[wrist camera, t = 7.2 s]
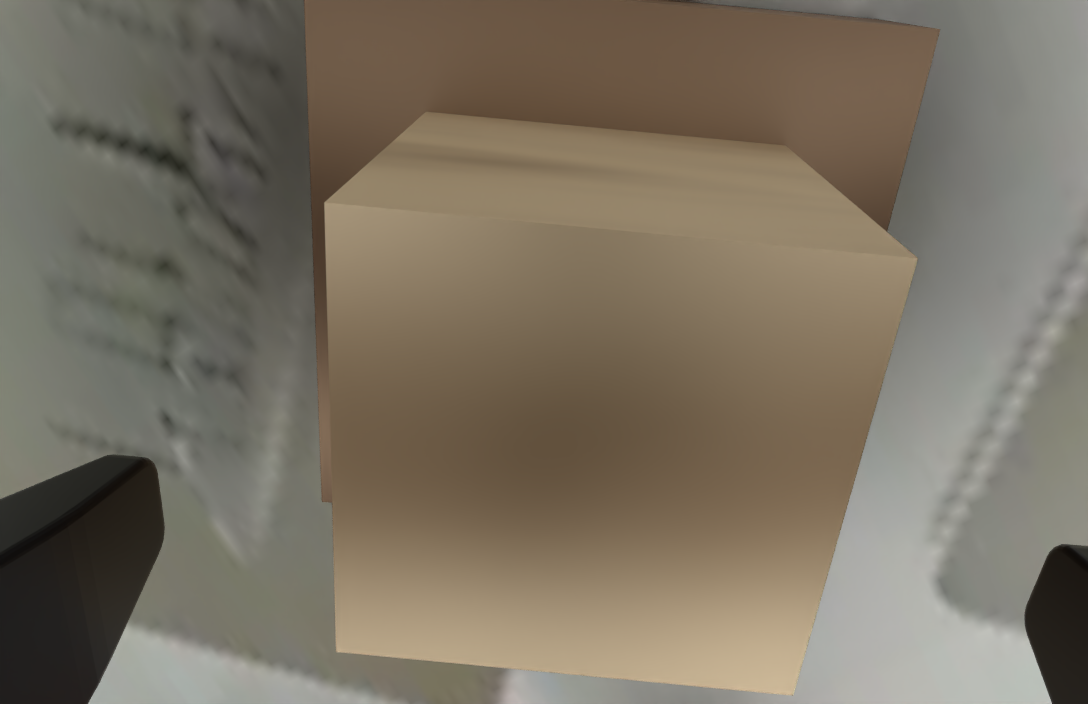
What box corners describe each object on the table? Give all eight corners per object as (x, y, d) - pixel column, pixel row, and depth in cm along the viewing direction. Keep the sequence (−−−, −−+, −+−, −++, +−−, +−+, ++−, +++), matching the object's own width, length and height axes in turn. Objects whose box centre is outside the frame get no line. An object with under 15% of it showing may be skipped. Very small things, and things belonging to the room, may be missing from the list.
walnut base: (773, 467, 20) (804, 546, 17) (357, 429, 20) (321, 501, 17) (878, 19, 16) (940, 29, 13) (351, -29, 16) (302, -29, 13)
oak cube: (722, 453, 16) (793, 694, 11) (418, 425, 16) (336, 651, 11) (785, 145, 14) (917, 258, 8) (426, 112, 14) (324, 203, 8)
